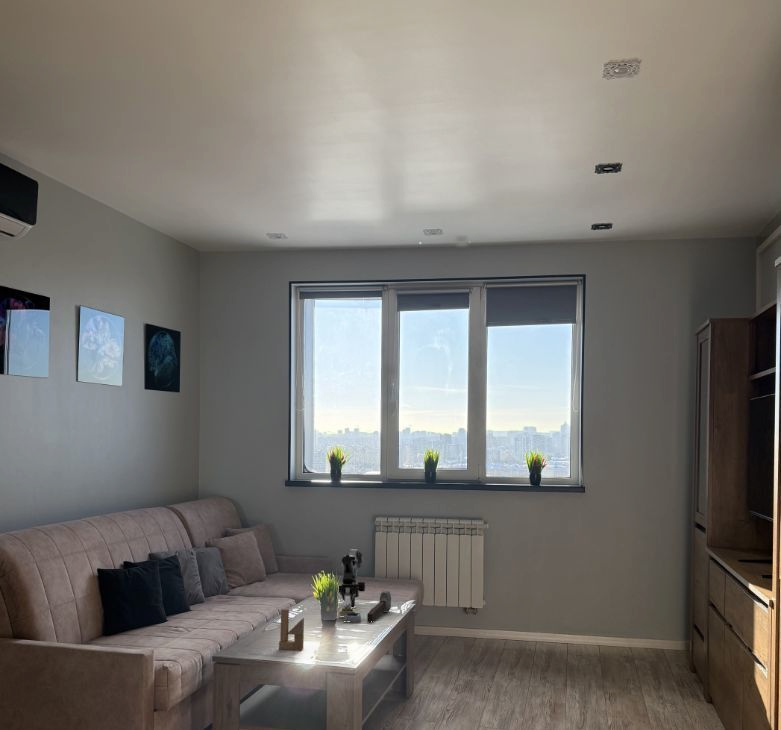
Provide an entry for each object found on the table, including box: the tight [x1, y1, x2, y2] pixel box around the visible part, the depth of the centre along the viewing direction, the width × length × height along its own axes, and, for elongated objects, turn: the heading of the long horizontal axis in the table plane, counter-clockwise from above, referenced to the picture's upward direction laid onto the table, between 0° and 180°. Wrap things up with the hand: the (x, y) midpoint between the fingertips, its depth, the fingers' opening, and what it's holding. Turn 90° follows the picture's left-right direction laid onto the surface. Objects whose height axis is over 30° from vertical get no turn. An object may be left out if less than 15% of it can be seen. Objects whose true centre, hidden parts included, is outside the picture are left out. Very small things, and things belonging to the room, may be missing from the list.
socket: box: [343, 612, 362, 623], centre depth 422 cm, size 9×9×3 cm
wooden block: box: [278, 607, 305, 652], centre depth 366 cm, size 4×11×18 cm, turn 80°
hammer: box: [366, 590, 392, 623], centre depth 433 cm, size 5×11×30 cm
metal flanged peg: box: [343, 587, 351, 612], centre depth 433 cm, size 4×4×13 cm
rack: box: [339, 608, 356, 617], centre depth 432 cm, size 8×8×3 cm
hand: (347, 599), depth 431 cm, fingers closed on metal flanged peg, 4 cm apart
